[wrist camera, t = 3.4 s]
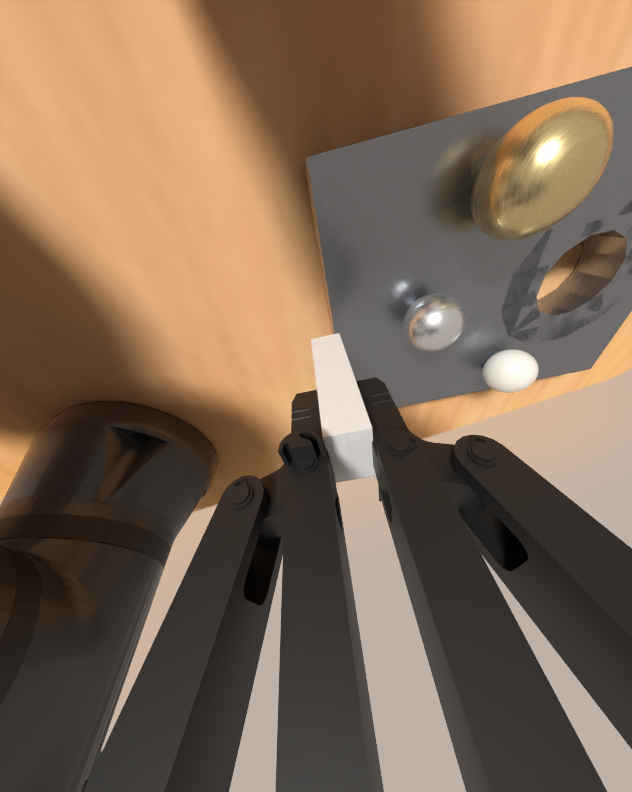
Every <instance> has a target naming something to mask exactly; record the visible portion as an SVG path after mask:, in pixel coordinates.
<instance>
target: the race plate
mask: <svg viewBox="0 0 632 792" xmlns="http://www.w3.org/2000/svg"><path fill="white" fill-rule="evenodd" d="M569 97H585V98H589V99H592V100H595V101H597V102H599V103H600V104H601V105H603V106H604V107H605V108H606V109H607V110H608V112H609V114H610V116H611V118H612V121H613V125H614V144H613V149H612V153H611V156H610V159H609V161H608V164H607V166H606V168H605V170H604V172H603V174H602V176H601V177H600V179H599V181H598V182H597V184H596V185H595V187H594V188H593V189H592V191H591V192H590V193H589V195H588V196H587V197H586V198H585V199H584V200H583V201H582V202H581V203H580V204H579V205H578V206H577V207H576V208H575V209H574V210H573V211H572V212H571V213H570V214H569V215H567V216H566V217H565V218H564V219H562V220H561V221H559V222H558V223H556V224H555V225H553V226H552V227H550V228H548V229H546V230H545V231H542V232H540V233H538V234H536V235H533V236H530V237H527V238H524V239H518V240H509V241H506V240H497V239H494V238H491V237H489V236H487V235H486V234H484V233H483V232H482V231H481V230H480V229H479V228H478V227H477V225H476V224H475V222H474V219H473V216H472V212H471V195H472V189H473V185H474V182H475V179H476V176H477V174H478V172H479V169H480V167H481V166H482V164H483V162H484V160H485V159H486V157H487V155H488V154H489V152H490V151H491V150H492V148H493V147H494V145H495V144H496V143H497V142H498V141H499V139H500V138H501V137H502V136H503V135H504V134H505V133H506V132H507V131H508V130H509V129H510V128H511V127H512V126H514V125H515V124H516V123H517V122H518V121H519V120H521V119H522V118H524V117H525V116H527V115H528V114H529V113H531V112H532V111H534V110H536V109H538V108H540V107H542V106H544V105H546V104H548V103H551V102H553V101H556V100H560V99H564V98H569ZM304 166H305V172H306V178H307V184H308V190H309V196H310V202H311V209H312V215H313V221H314V227H315V233H316V239H317V245H318V251H319V257H320V263H321V269H322V275H323V281H324V287H325V294H326V300H327V306H328V312H329V318H330V324H331V330H332V335H333V334H337V333H339V334H340V337H341V340H342V342H343V345H344V348H345V351H346V354H347V357H348V360H349V362H350V365H351V368H352V371H353V374H354V377H355V380H356V381H359V380H364V379H369V378H374V377H377V378H378V379H380V380H381V381H382V382H384V383H385V385H386V387H387V389H388V391H389V394H390V395H391V397H392V399H393V401H394V403H395V405H396V407H402V406H407V405H412V404H417V403H422V402H427V401H432V400H437V399H442V398H447V397H452V396H457V395H462V394H467V393H472V392H477V391H482V390H487V389H492V388H491V387H490V386H488V385H487V384H486V382H485V381H484V378H483V375H482V370H483V366H484V364H485V362H486V361H487V360H488V359H489V358H490V357H491V356H492V355H494V354H496V353H498V352H500V351H504V350H510V349H515V350H521V351H524V352H527V353H529V354H530V355H531V356H533V357H534V358H535V360H536V361H537V364H538V368H539V371H538V376H537V378H536V380H538V379H543V378H548V377H553V376H558V375H563V374H568V373H573V372H578V371H583V370H588V369H591V368H592V366H593V365H594V363H595V362H596V361H597V359H598V358H599V356H600V355H601V353H602V352H603V351H604V349H605V348H606V346H607V345H608V343H609V342H610V341H611V339H612V338H613V336H614V335H615V334H616V332H617V331H618V329H619V328H620V326H621V325H622V324H623V322H624V321H625V319H626V318H627V317H628V315H629V314H630V312H631V311H632V67H629V68H625V69H622V70H618V71H614V72H611V73H607V74H604V75H600V76H596V77H593V78H589V79H586V80H582V81H578V82H575V83H571V84H568V85H564V86H560V87H557V88H553V89H550V90H546V91H542V92H539V93H535V94H532V95H528V96H524V97H521V98H517V99H514V100H510V101H506V102H503V103H499V104H496V105H492V106H489V107H485V108H481V109H478V110H474V111H471V112H467V113H463V114H460V115H456V116H453V117H449V118H445V119H442V120H438V121H435V122H431V123H427V124H424V125H420V126H417V127H413V128H409V129H406V130H402V131H399V132H395V133H391V134H388V135H384V136H381V137H377V138H373V139H370V140H366V141H363V142H359V143H355V144H352V145H348V146H345V147H341V148H337V149H334V150H330V151H327V152H323V153H319V154H316V155H312V156H309V157H307V158H306V161H305V165H304ZM582 241H583V246H584V251H583V253H582V255H581V257H580V259H579V261H578V264H577V266H576V268H575V270H574V271H573V272H572V273H571V274H570V276H569V277H568V278H567V279H566V280H565V281H564V282H563V283H562V284H561V285H560V286H559V288H557V289H556V290H554V291H553V292H551V293H550V294H548V295H546V296H545V297H543V298H542V299H540V300H537V298H536V296H537V294H538V291H539V289H540V286H541V284H542V282H543V279H544V277H545V275H546V274H547V273H548V272H549V270H550V269H551V268H552V267H553V266H554V265H555V263H556V262H557V261H558V260H559V259H560V258H561V257H562V255H563V254H564V253H565V252H567V251H568V250H570V249H571V248H573V247H574V246H576V245H577V244H579V243H580V242H582ZM433 293H444V294H448V295H451V296H453V297H455V298H456V299H457V300H458V301H459V302H460V303H461V304H462V306H463V308H464V311H465V316H466V321H465V326H464V329H463V331H462V333H461V335H460V336H459V338H458V339H457V340H456V341H455V342H454V343H453V344H451V345H450V346H448V347H447V348H444V349H442V350H439V351H434V352H426V351H421V350H418V349H416V348H414V347H413V346H412V345H410V344H409V343H408V341H407V340H406V338H405V336H404V333H403V320H404V317H405V314H406V312H407V310H408V309H409V308H410V306H411V305H412V304H413V303H414V302H415V301H417V300H418V299H419V298H421V297H423V296H426V295H428V294H433Z"/></svg>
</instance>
